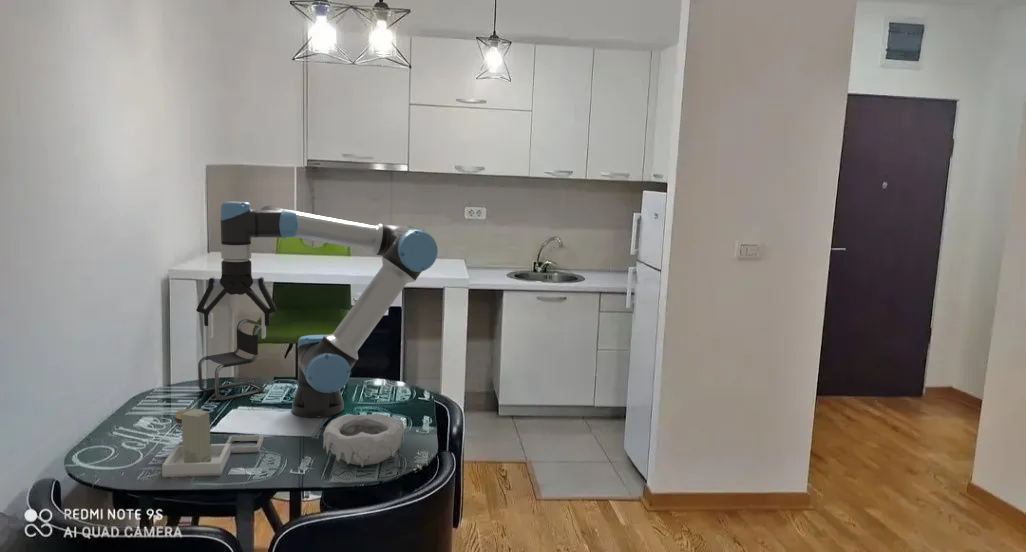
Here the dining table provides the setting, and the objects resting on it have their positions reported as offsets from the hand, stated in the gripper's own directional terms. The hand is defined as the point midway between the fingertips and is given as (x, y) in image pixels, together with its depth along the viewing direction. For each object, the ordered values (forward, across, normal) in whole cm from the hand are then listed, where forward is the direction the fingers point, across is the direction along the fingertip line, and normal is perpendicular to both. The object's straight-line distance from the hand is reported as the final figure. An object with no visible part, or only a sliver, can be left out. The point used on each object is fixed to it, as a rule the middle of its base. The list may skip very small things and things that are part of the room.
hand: (237, 337), depth 206 cm
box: (+26, +6, +23) cm, 35 cm away
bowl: (+27, -34, +23) cm, 49 cm away
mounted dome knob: (+27, +10, +12) cm, 31 cm away
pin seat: (+27, -3, +11) cm, 29 cm away
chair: (+27, +8, -38) cm, 47 cm away
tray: (+27, +6, +23) cm, 36 cm away
